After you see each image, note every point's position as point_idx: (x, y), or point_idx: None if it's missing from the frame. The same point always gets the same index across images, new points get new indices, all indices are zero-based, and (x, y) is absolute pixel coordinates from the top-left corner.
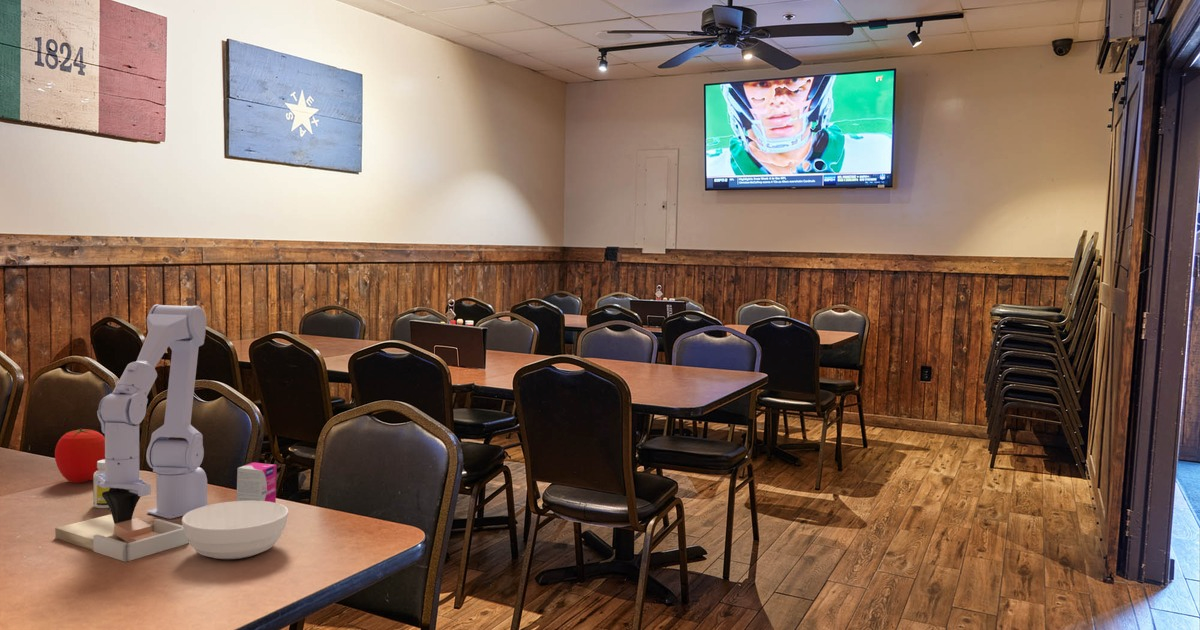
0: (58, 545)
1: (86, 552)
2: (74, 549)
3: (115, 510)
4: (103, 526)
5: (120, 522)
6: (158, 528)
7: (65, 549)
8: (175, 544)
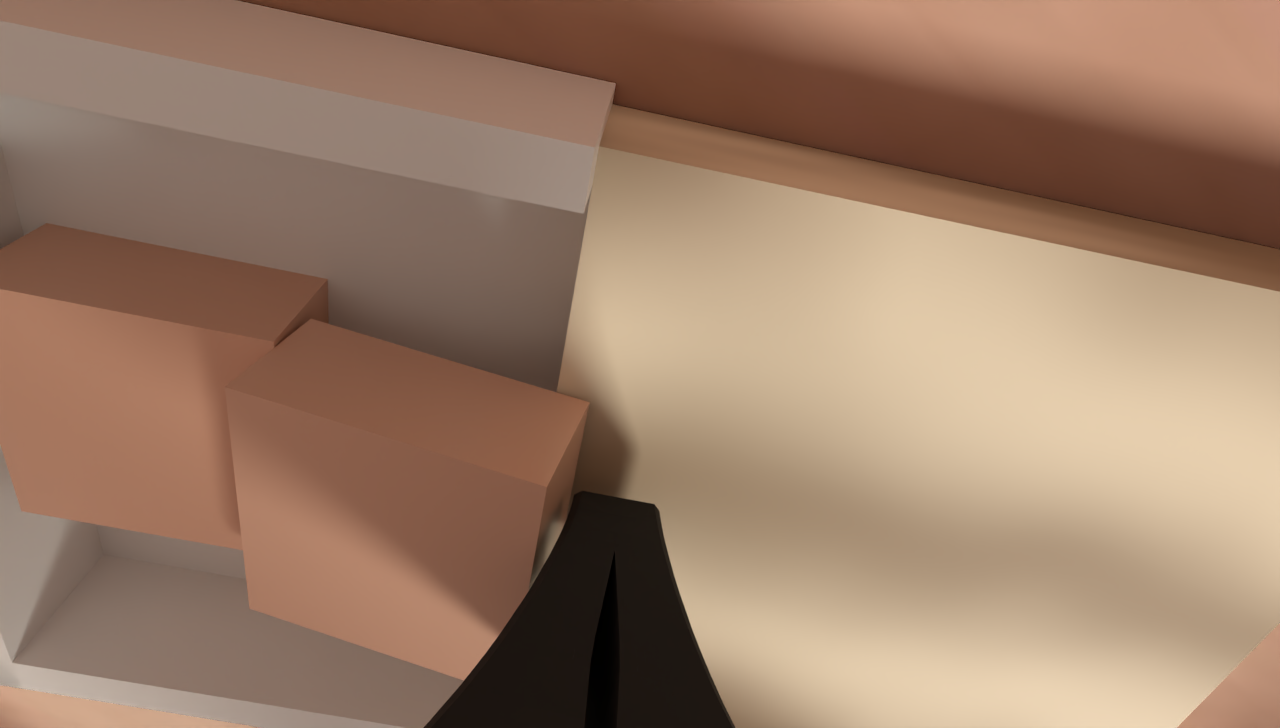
0: (1232, 96)
1: (672, 23)
2: (911, 54)
3: (559, 679)
4: (933, 548)
5: (529, 544)
6: None
7: (1030, 6)
8: None
